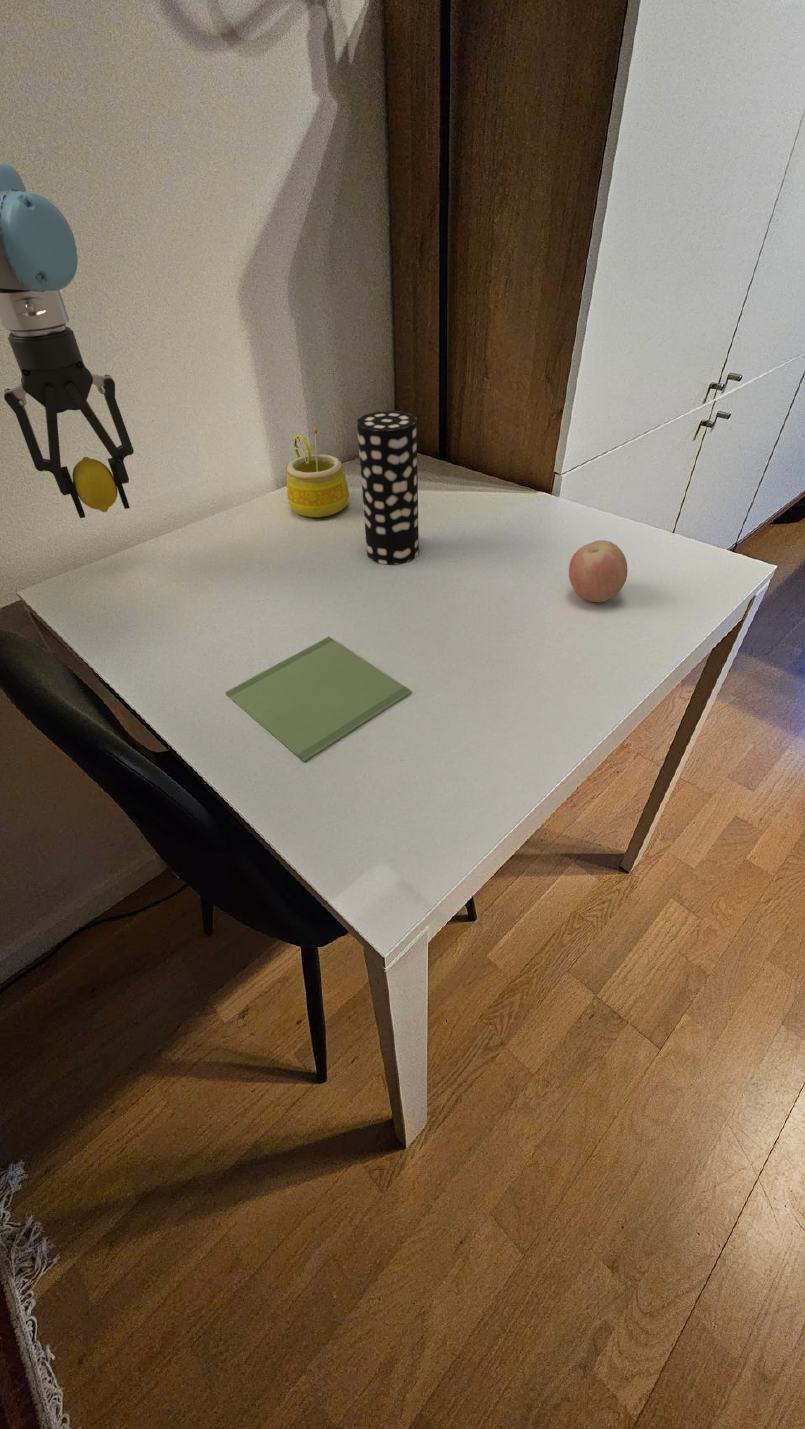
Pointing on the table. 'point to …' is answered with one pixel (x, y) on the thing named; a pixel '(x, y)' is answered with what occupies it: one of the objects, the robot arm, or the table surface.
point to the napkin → (317, 697)
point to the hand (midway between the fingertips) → (104, 509)
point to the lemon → (94, 484)
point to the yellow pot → (315, 482)
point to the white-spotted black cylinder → (389, 485)
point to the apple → (598, 571)
